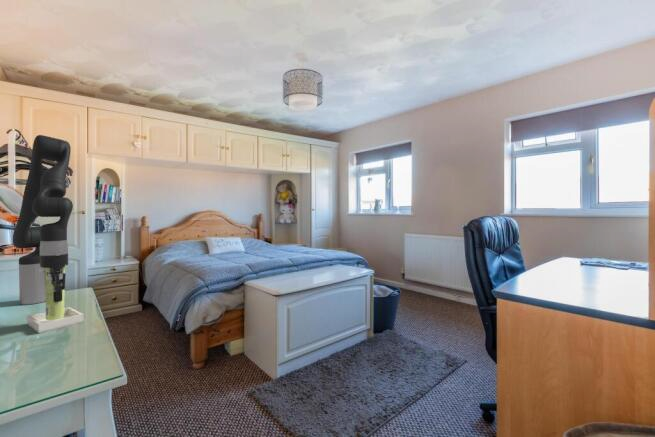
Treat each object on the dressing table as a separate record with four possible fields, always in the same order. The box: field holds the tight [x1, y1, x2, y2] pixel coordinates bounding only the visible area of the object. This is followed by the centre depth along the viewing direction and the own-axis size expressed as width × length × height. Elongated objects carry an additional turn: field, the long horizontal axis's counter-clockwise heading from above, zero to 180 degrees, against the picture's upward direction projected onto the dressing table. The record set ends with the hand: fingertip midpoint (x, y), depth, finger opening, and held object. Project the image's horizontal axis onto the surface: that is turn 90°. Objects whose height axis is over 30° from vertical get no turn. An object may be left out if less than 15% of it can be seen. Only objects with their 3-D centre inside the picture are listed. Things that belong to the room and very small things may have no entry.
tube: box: [45, 265, 67, 320], centre depth 109 cm, size 6×5×20 cm
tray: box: [26, 306, 85, 334], centre depth 109 cm, size 14×12×3 cm
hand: (55, 299), depth 108 cm, fingers open, 5 cm apart
